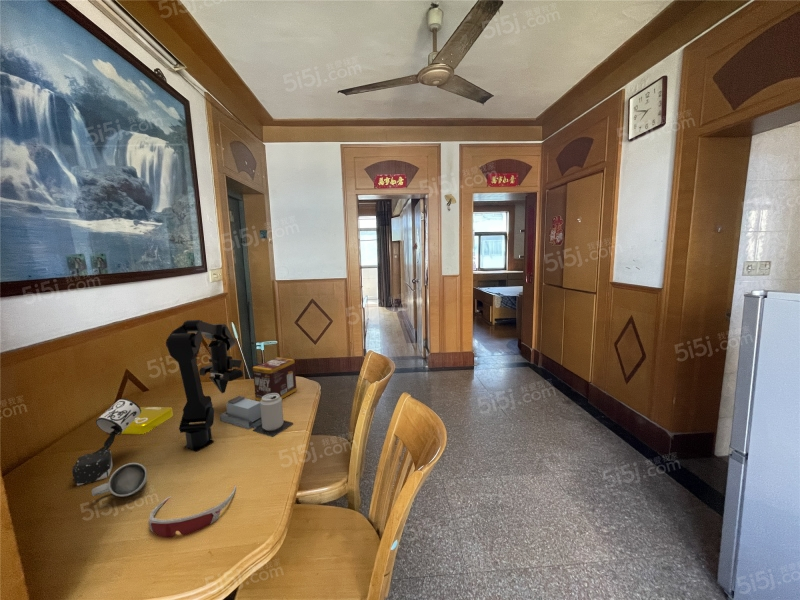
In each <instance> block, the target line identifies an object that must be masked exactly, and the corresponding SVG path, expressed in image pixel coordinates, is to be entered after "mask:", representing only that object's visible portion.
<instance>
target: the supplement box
mask: <svg viewBox="0 0 800 600" xmlns="http://www.w3.org/2000/svg"><path fill="white" fill-rule="evenodd" d="M295 363H296V362H295V359H292V358H286V357H285V358H284V357H279V356H278V357H277V356H276V357H275V358H273V359H269V360H268V361H267V360H266V361H265V362H262V363H260V364H258V365H255V366H253V367H252V374H253V381H254V382H253V383H254V384H253V385H254V395H255V401H258V402H260V401H261V400H262V397H263V396H264V395H266V394H270V393H277V394H279V395H280V397H281V398H282V400H283V399H285V398H286V397H288V396H290V395H291V394H293V393H296V391H297V379H296V378H297V377H296V367H295V366H296V364H295Z"/></svg>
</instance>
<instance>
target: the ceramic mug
mask: <svg viewBox="0 0 800 600" xmlns="http://www.w3.org/2000/svg"><path fill="white" fill-rule="evenodd" d="M147 475H148V471H147V468H146V466H144V465H143V464H141V463H139V462H129V463H126V464H124V465H121V466H119V467H118V468H117V469H116V470H114V472H113V473H112V474H111V475H110V476H109V477H110V478H109V480H108V482H105V483H103V484H100V485H98V486H96V487H93V488H92V489H91V496H92V497H94V496H99V495H103V494H106V493H111V494H112V495H113V496H116V497H122V498H123V497H129V496H132V495H134V494H136V493H137V492H139V491H140V490H142V489H143V487H144V486H145V484H146V483H147V479H148V476H147Z"/></svg>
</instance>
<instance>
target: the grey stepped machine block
mask: <svg viewBox="0 0 800 600" xmlns="http://www.w3.org/2000/svg"><path fill="white" fill-rule="evenodd" d="M226 411H227V414H228V415H231V416H235V417H239V418H242V419H246V420H249V421H252V422H254V421H255V420H257V419H259V418H261V408H260V401H257V400H253V399H249V398H245V397H244V396H242V395H238V396H236V397H234V398H231V399H229V400H227V402H226Z"/></svg>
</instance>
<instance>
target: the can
mask: <svg viewBox="0 0 800 600" xmlns="http://www.w3.org/2000/svg"><path fill="white" fill-rule="evenodd" d="M259 402H260V408H261V419H262V428H263V429H265V430H267V431H273V430H276V429H278V428H280V427H281V426H282V425H283V423H284V421H285V420H284V413H283V412H284V411H283V410H284V409H283V399H282V398H281V397H280V395H279V394H277V393H270V394H266V395H264V396H263V397H262V400H261V401H259ZM283 420H284V421H283Z"/></svg>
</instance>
